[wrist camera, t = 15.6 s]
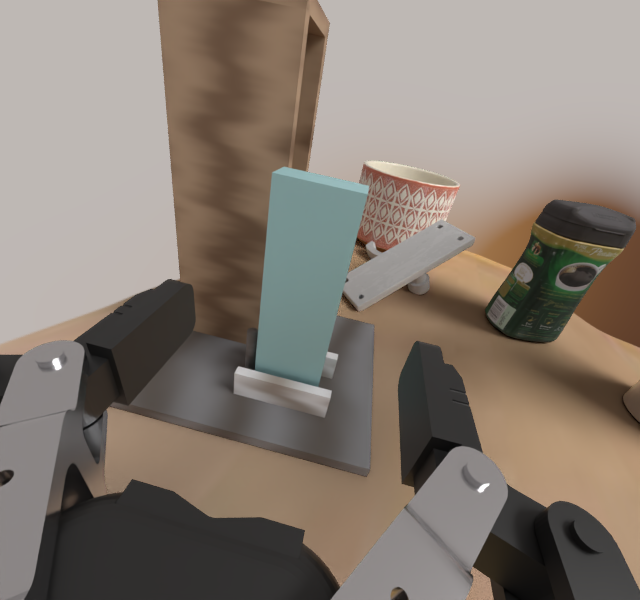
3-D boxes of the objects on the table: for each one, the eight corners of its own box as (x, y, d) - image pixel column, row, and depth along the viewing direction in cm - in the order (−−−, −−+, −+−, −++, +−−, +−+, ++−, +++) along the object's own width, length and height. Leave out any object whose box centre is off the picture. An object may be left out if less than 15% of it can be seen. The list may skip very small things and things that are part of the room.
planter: (375, 221, 79) (392, 160, 71) (444, 249, 70) (472, 183, 62) (330, 233, 66) (345, 160, 58) (408, 270, 57) (439, 189, 49)
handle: (367, 340, 47) (471, 277, 49) (357, 307, 41) (475, 237, 43) (319, 280, 59) (404, 231, 61) (306, 248, 53) (400, 196, 56)
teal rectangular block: (321, 373, 30) (369, 182, 20) (314, 401, 27) (367, 194, 17) (266, 359, 30) (287, 164, 20) (253, 385, 27) (272, 172, 17)
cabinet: (372, 331, 39) (468, 53, 24) (366, 476, 23) (639, -70, 8) (215, 291, 40) (212, 2, 25) (107, 405, 24) (-78, -195, 9)
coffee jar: (530, 316, 50) (607, 203, 40) (562, 348, 43) (663, 223, 33) (474, 307, 49) (539, 190, 39) (498, 339, 42) (583, 207, 32)
